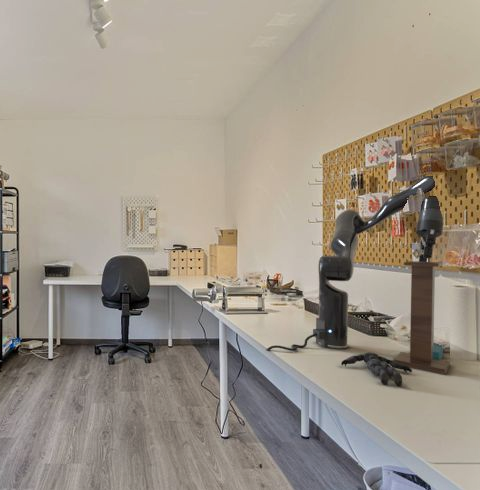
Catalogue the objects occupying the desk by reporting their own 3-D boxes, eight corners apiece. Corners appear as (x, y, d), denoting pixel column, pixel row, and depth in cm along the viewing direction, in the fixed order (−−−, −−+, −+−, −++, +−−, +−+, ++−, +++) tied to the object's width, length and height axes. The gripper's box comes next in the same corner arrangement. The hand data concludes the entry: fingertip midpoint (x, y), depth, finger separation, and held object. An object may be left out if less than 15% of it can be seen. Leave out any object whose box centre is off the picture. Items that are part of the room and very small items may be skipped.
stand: (445, 374, 105) (447, 263, 104) (393, 364, 114) (395, 261, 113) (449, 365, 113) (451, 262, 112) (400, 356, 122) (402, 260, 121)
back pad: (438, 362, 116) (438, 352, 116) (410, 356, 121) (411, 347, 121) (447, 350, 128) (447, 342, 128) (422, 346, 134) (422, 338, 134)
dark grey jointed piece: (432, 392, 93) (399, 365, 112) (433, 375, 93) (400, 351, 112) (352, 383, 99) (334, 358, 118) (353, 367, 99) (334, 345, 118)
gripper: (448, 215, 129) (443, 257, 125) (438, 232, 141) (433, 270, 137) (421, 213, 133) (415, 253, 130) (413, 229, 145) (407, 266, 141)
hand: (424, 262), depth 133 cm, fingers open, 8 cm apart
